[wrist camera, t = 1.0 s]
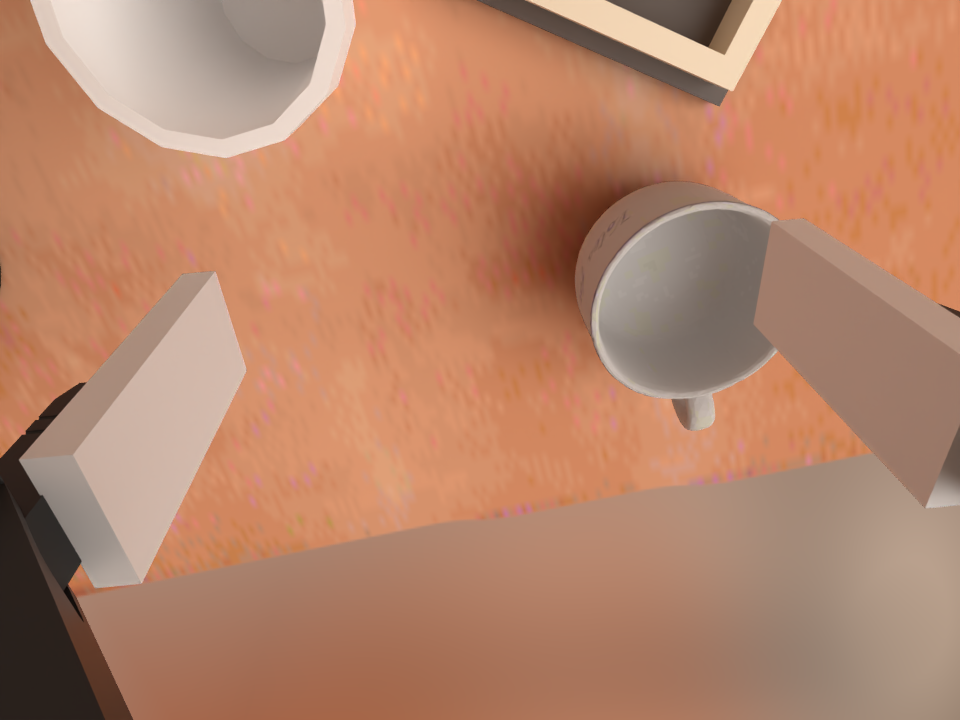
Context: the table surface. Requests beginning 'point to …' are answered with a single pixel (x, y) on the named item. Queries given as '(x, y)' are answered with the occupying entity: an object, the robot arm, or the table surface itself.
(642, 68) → the tray
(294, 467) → the table surface
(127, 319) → the table surface
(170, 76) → the foam cup
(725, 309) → the teacup
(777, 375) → the table surface
